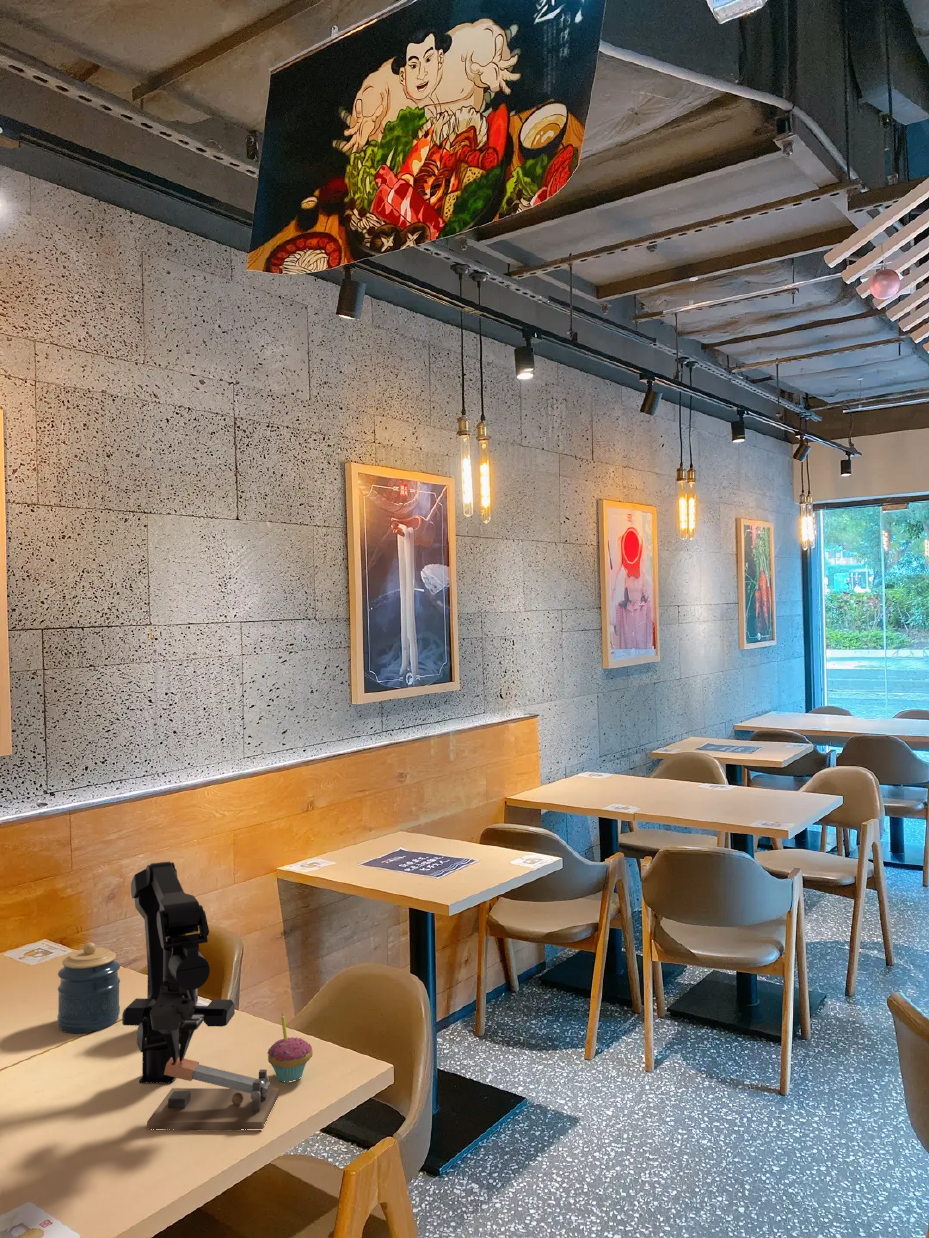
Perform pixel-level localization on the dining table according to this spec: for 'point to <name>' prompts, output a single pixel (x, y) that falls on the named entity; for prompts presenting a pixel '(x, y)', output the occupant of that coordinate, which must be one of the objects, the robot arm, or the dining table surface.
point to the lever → (213, 1076)
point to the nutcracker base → (214, 1108)
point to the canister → (88, 990)
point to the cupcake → (289, 1056)
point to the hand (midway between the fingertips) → (178, 1060)
